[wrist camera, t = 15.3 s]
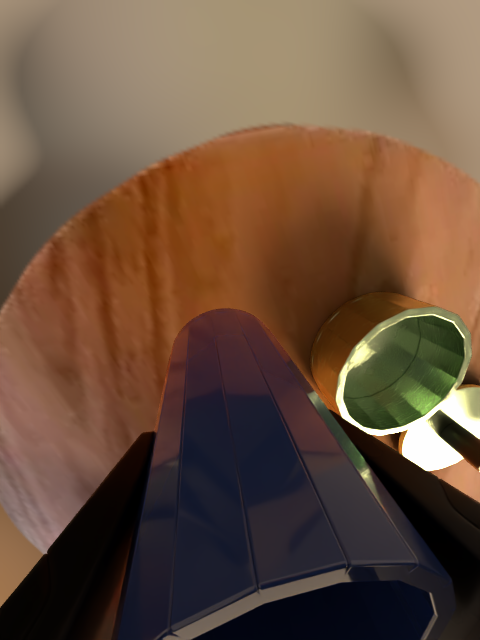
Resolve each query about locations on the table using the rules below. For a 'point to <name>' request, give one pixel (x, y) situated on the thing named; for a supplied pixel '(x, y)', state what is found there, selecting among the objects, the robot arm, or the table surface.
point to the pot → (389, 360)
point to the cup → (266, 510)
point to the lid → (447, 433)
